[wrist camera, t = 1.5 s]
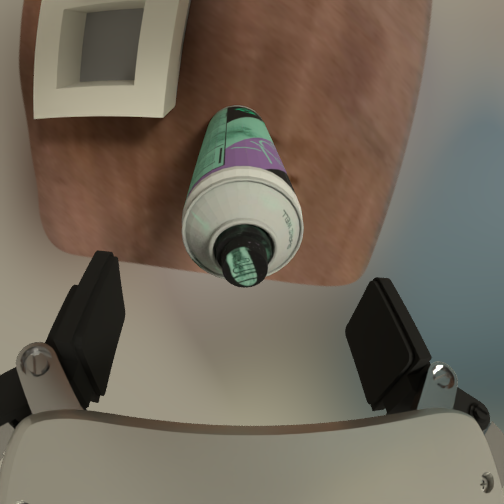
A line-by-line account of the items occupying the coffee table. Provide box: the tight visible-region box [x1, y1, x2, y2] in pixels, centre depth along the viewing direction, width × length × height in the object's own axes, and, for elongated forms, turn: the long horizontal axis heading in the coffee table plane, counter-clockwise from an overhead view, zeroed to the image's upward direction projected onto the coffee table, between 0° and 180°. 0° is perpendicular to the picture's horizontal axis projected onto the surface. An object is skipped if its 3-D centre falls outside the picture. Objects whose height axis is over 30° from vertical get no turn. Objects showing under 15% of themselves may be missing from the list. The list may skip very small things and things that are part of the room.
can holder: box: [33, 0, 191, 119], centre depth 19 cm, size 12×12×6 cm
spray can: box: [182, 105, 303, 287], centre depth 19 cm, size 6×6×20 cm
